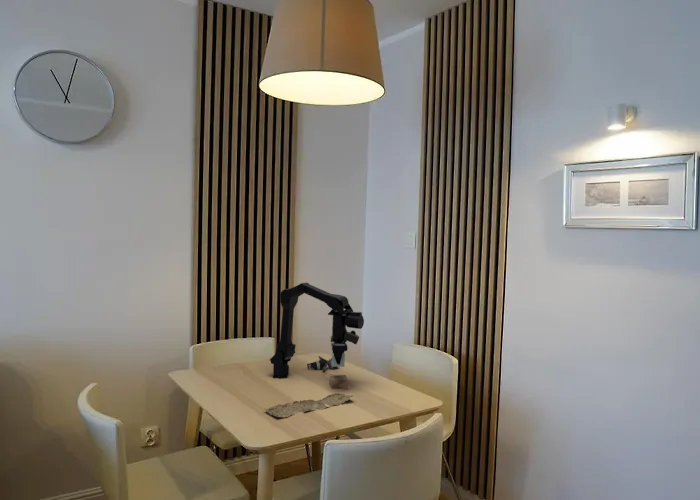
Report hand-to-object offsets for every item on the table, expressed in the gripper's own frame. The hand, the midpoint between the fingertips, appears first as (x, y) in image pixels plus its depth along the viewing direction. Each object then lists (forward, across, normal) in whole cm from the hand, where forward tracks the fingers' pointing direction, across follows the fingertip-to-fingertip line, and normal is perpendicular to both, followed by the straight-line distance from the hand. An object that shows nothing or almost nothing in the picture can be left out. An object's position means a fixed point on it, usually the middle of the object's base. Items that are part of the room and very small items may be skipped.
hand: (338, 362), depth 221 cm
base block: (+10, 0, 0) cm, 11 cm away
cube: (+1, 0, 0) cm, 1 cm away
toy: (+11, +28, +6) cm, 30 cm away
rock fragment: (+11, -25, +11) cm, 29 cm away
